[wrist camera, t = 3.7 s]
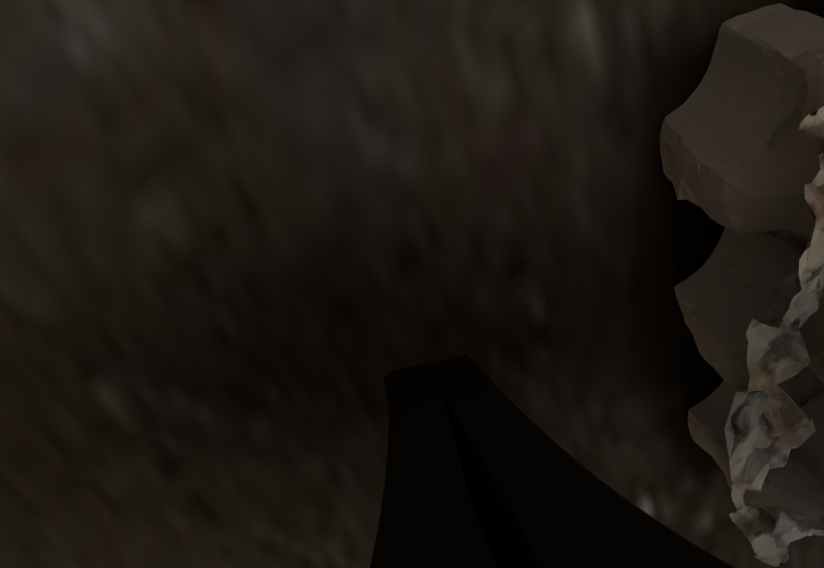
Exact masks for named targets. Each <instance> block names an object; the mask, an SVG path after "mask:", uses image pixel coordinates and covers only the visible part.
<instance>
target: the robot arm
mask: <svg viewBox="0 0 824 568" xmlns="http://www.w3.org/2000/svg"><path fill="white" fill-rule="evenodd" d="M383 381H384V386H385V391H386V397H387V402H388V414H389V437H388V452H387V465H386V477H385V486H384V493H383V499H382V506H381V512H380V519H379V525H378V531H377V537H376V542H375V547H374V552H373V556H372V561H371V566H370V568H735V567H733V566H731V565H729V564H728V563H726V562H724V561H722V560H721V559H719V558H717V557H715V556H714V555H712V554H710V553H708V552H707V551H705V550H703V549H701V548H700V547H698V546H696V545H694V544H693V543H691V542H690V541H688V540H686V539H685V538H683V537H682V536H680V535H679V534H677V533H676V532H674V531H672V530H671V529H669V528H668V527H666V526H665V525H663V524H662V523H660V522H659V521H657V520H655V519H654V518H652V517H651V516H650V515H648V514H647V513H645V512H644V511H642V510H641V509H640V508H638V507H637V506H635V505H634V504H632V503H631V502H629V501H628V500H627V499H625V498H624V497H623V496H621V495H620V494H618V493H617V492H616V491H614V490H613V489H612V488H610V487H609V486H608V485H606V484H605V483H604V482H603V481H601V480H600V479H599V478H597V477H596V476H595V475H594V474H592V473H591V472H590V471H589V470H587V469H586V468H585V467H584V466H583V465H581V464H580V463H579V462H578V461H576V460H575V459H574V458H573V457H572V456H570V455H569V454H568V453H567V452H566V451H565V450H563V449H562V448H561V447H560V446H559V445H558V444H556V443H555V442H554V441H553V440H552V439H551V438H550V437H549V436H548V435H547V434H545V433H544V432H543V431H542V430H541V429H540V428H539V427H538V426H537V425H536V424H534V423H533V422H532V421H531V420H530V419H529V418H528V417H527V416H526V415H525V414H524V413H523V412H522V411H521V410H520V409H519V408H518V407H517V406H516V405H515V404H514V403H513V402H512V401H511V400H510V399H509V398H508V397H507V396H506V395H505V394H504V393H503V392H502V391H501V390H500V389H499V388H498V387H497V386H496V385H495V384H494V383H493V382H492V380H491V379H490V378H489V377H488V376H487V375H486V374H485V373H484V371H483V370H482V369H481V368H480V367H479V366H478V365H477V363H476V362H475V361H474V360H473V359H472V358H471V357H469V356H467V355H466V354H465V355H461V356H457V357H452V358H448V359H444V360H440V361H435V362H431V363H427V364H423V365H418V366H414V367H410V368H406V369H401V370H397V371H393V372H389V374H388V375H387V376H386V377H385V378H384V379H383Z"/></svg>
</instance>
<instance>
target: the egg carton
mask: <svg viewBox="0 0 824 568" xmlns="http://www.w3.org/2000/svg"><path fill="white" fill-rule="evenodd" d="M660 153H661V159H662V164H663V170H664V174H665V176H666V177H667V178H668V179H669V180H670V181H672V183H673V186H674V189H675V193H676V196H677V199H678V200H684V199H686V200H688V201H690V202H692V203H693V204H695V205H697V206H699V207H701V208H702V209H703V210H704V211H705V213H706V214H707V215H708V216H709V217H710V218H711V219H713V220H714V221H716V222H717V223H718V224H720V225H722V226H725V228H724V232H723V234H722V236H721V238H720V240H719V242H718V244H717V246H716V248H715V250H714V251H713V253H712V254H711V256H710V257H709V258H708V260H707V261H706V262H705V264H704V265H703V266H702V267H701V268H700V269H699V270H697V271H696V272H695V273H694V274H692V275H691V276H690V277H689V278H687V279H686V280H684V281H682V282H681V283H679V284H677V285H676V286H675V287H674V288H675V294H676V297H677V301H678V303H679V306H680V308H681V311H682V313H683V315H684V320H685V324H686V325H687V327H689V328H690V330H691V332H692V334H693V337H694V339H695V342H696V345H697V347H698V350H699V353H700V354H701V356H702V357H703V359H704V360H705V361H707V362H708V363H709V364H710V365H711V366H712V367H714V369H715V370H716V371H717V373H718V374H719V375H720V376H721V377H722V378H723V379H724V380H723V382H722V383H721V384H720V385H719V387H718V388H717V389H716V390H715V391H714V392H713V393H712V394H711V395H709V397H707V398H706V399H704V400H703V401H701V402H700V403H698V404H697V405H695V406H693V407H691V408H690V409H688V425H689V432H690V434H691V437H692V439H693V440H694V442H695V443H696V444H698V445H699V446H700V447H701V448H702V449H703V450H705V451H706V452H707V453H708V454H709V455H711V456H712V458H713V459H714V460H715V462H716V463H717V464H718V466H719V467H720V468H721V469H722V471H723V472H724V474H725V477H726V479H727V482H728V485H729V487H730V490H731V493H732V494H731V498H732V500H733V502H734V504H735V506H736V509H737V512H733V513H730V518H731V519H732V521H733V522H734V524H735V525H736V526H737V527H738V528H739V529H740V530H741V531H742V533H743V534H744V535H745V536H746V537H747V538H748V540H749V541H750V542H751V545H752V547H753V549H754V551H755V553H756V555H757V556H755V557H756V558H757V559H758V560H760V561H762V562H764V563H767V564H769V565H772V566H774V567H776V566H778V565H781V564H784V563H785V562H786V561H787V560H788V559H789V552H788V548H787V547H788V545H789V543H790V542H792V541H795V540H798V539H802V538H805V537H809V536H812V535H816V536H824V391H823V392H821V393H820V394H818V395H816V396H815V397H813V398H812V399H811V400H809V401H808V402H807V403H806V404H805V405H803V406H802V407H801V408H800V407H799V406H798V405H797V404H796V403H795V402H794V401H793V400H792V399H791V398H790V396H789V395H788V394H787V393H786V392H785V391H784V390H783V389H782V388H781V387H779V386H778V385H777V384H779V383H781V382H783V381H785V380H787V379H789V378H791V377H793V376H795V375H796V374H798V373H799V372H800V371H802V370H803V369H804V368H805V367H808V368H809V369H810V370H811V371H812V372H813V373H814V374H815V375H816V376H817V377H818V378H819V379H820V380H821V381H822V382H823V383H824V18H821V17H819V16H817V15H814V14H812V13H810V12H807V11H802V10H795V9H793V8H790V7H788V6H786V5H784V4H782V3H778V4H773V5H768V6H765V7H762V8H759V9H757V10H754V11H751V12H749V13H746V14H742V15H739V16H736V17H734V18H731V19H729V20H727V21H725V22H723V23H722V25H721V27H720V29H719V33H718V38H717V42H716V45H715V48H714V52H713V55H712V59H711V62H710V65H709V68H708V70H707V72H706V73H705V75H704V77H703V79H702V81H701V83H700V84H699V86H698V87H697V88H696V89H695V91H694V92H693V93H692V94H691V96H690V97H689V98H688V99H687V100H686V101H685V102H684V103H683V104H682V105H681V106H680V107H678V108H677V109H676V110H674V111H673V112H671V113H670V114H669V115H667V116H666V117H665V119H664V121H663V124H662V127H661V133H660Z"/></svg>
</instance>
